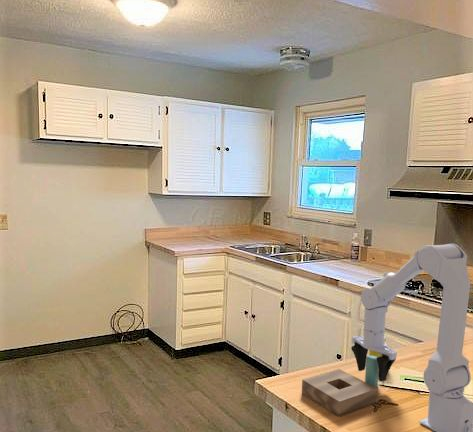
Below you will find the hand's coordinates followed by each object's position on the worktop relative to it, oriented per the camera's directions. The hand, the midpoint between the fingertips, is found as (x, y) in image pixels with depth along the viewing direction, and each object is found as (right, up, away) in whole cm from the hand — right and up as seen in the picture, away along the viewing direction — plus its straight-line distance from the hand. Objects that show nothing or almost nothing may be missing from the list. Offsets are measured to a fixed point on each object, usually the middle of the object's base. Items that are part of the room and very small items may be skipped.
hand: (371, 375), depth 131 cm
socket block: (-11, -3, -8) cm, 14 cm away
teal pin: (0, -3, 0) cm, 3 cm away
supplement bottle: (+6, -2, +13) cm, 15 cm away
